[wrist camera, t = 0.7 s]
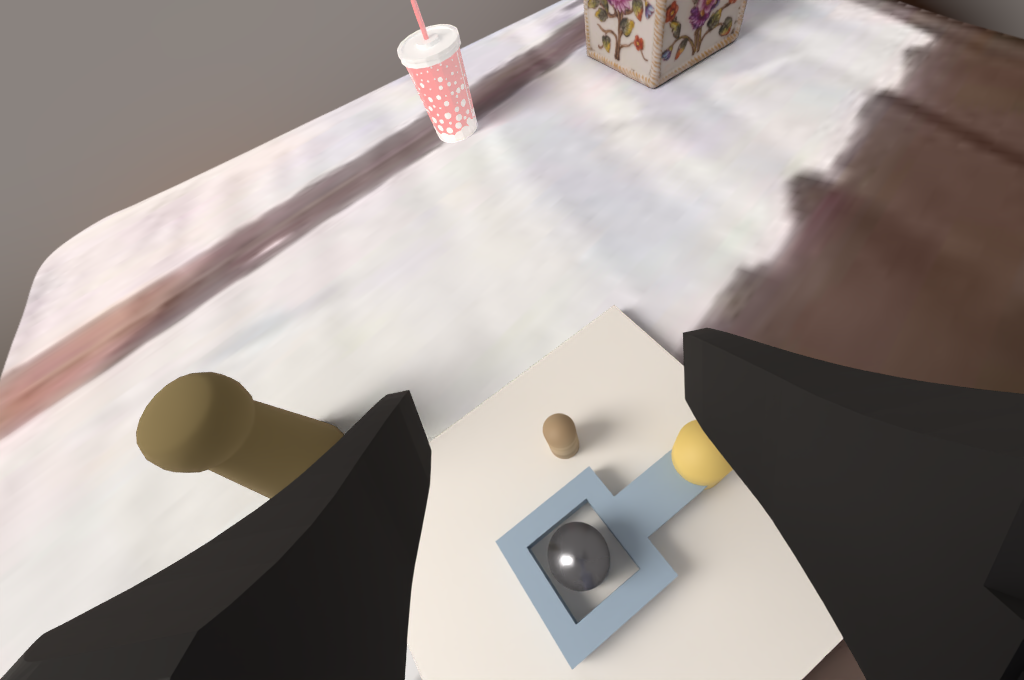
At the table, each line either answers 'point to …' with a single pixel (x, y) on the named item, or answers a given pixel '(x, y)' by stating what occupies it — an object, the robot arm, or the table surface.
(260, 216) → the table surface
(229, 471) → the cork
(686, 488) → the square ring with handle
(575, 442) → the dowel
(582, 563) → the post
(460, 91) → the beverage cup
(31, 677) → the robot arm
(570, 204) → the table surface
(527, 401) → the base plate
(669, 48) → the decorative jar
